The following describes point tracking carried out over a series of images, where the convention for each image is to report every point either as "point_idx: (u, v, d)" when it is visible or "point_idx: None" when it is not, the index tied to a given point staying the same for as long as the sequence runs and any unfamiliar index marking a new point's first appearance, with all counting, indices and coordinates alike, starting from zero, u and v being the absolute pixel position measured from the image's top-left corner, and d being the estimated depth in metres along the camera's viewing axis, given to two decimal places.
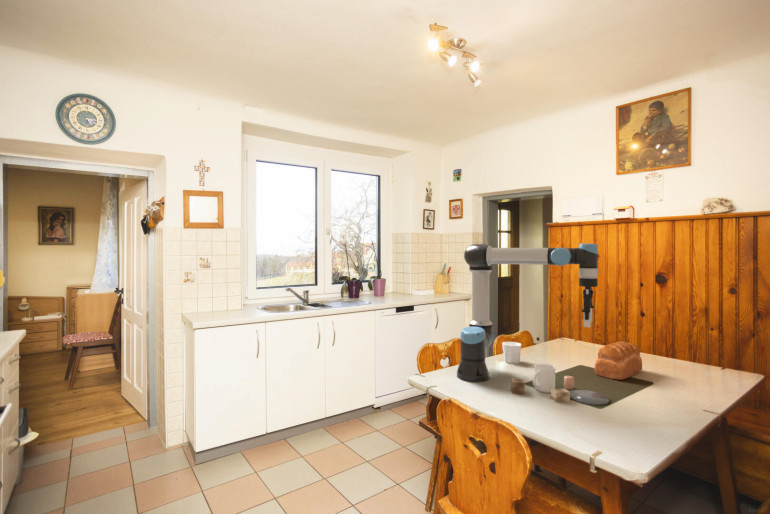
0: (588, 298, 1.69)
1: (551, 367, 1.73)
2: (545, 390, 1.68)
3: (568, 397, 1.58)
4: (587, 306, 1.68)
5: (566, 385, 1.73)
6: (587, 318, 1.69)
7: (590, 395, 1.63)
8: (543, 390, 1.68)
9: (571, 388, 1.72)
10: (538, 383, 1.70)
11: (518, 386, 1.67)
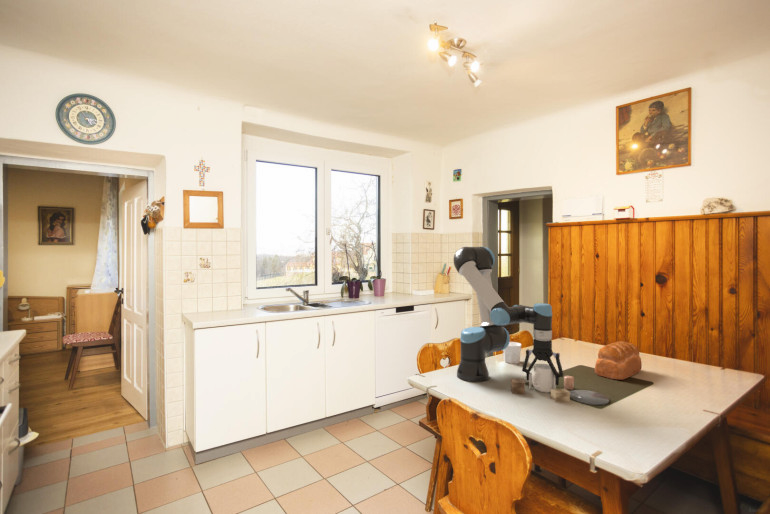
0: (525, 358, 1.74)
1: None
2: (544, 390, 1.68)
3: (568, 397, 1.58)
4: (523, 366, 1.74)
5: (566, 385, 1.73)
6: None
7: (590, 395, 1.63)
8: (542, 390, 1.68)
9: (571, 388, 1.72)
10: (537, 383, 1.70)
11: (518, 386, 1.67)
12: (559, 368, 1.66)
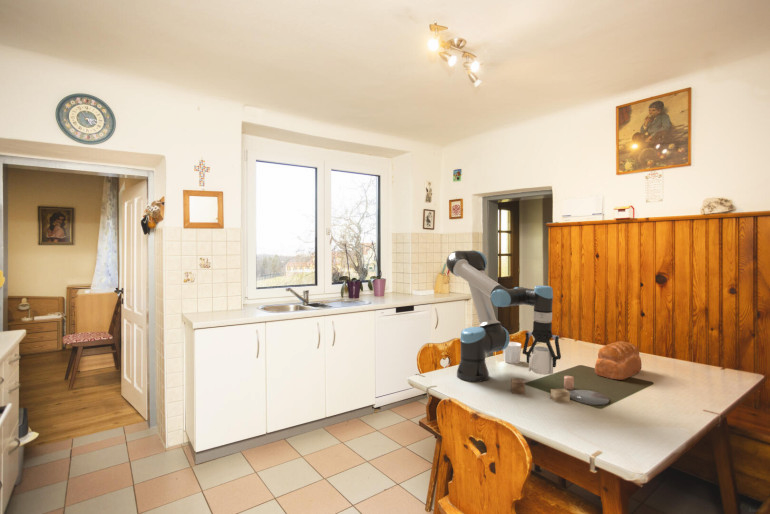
0: (525, 341, 1.74)
1: (548, 350, 1.74)
2: (541, 372, 1.69)
3: (568, 397, 1.58)
4: None
5: (566, 385, 1.73)
6: None
7: (590, 395, 1.63)
8: (539, 372, 1.69)
9: (571, 388, 1.72)
10: (535, 365, 1.71)
11: (518, 386, 1.67)
12: (557, 350, 1.67)
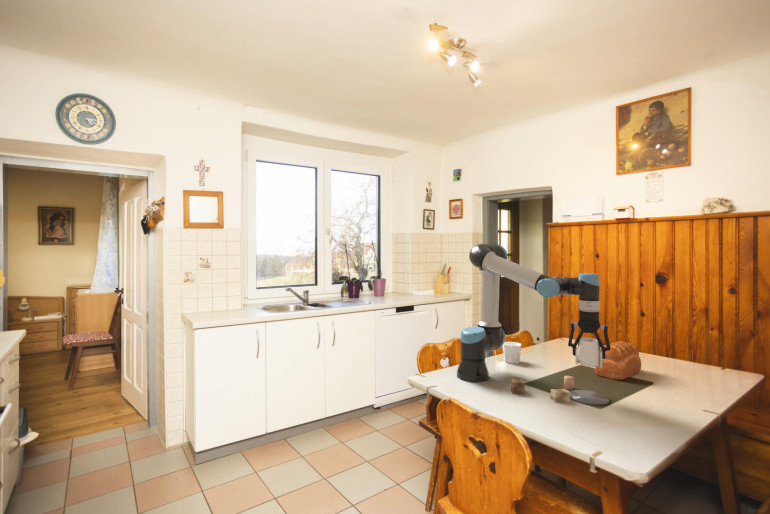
0: None
1: (595, 341, 1.64)
2: (590, 364, 1.59)
3: (568, 397, 1.58)
4: None
5: (566, 385, 1.73)
6: None
7: (590, 395, 1.63)
8: (588, 364, 1.59)
9: (571, 388, 1.72)
10: (582, 357, 1.61)
11: (518, 386, 1.67)
12: (607, 341, 1.57)
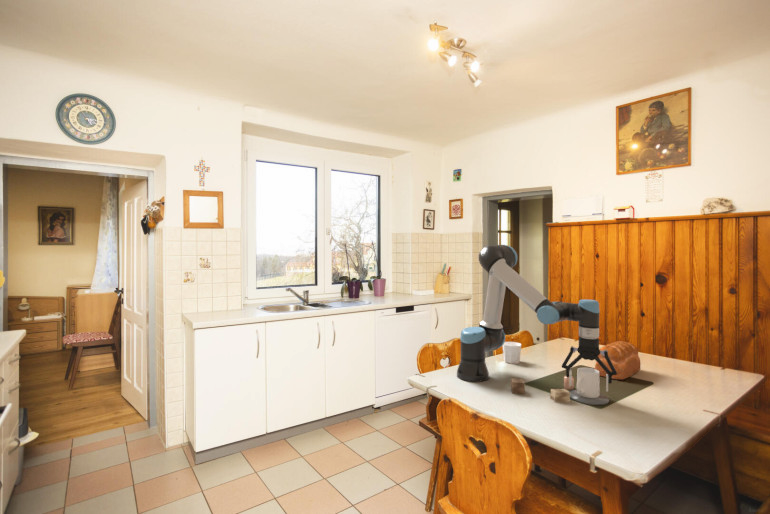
0: None
1: (594, 371, 1.65)
2: (590, 395, 1.59)
3: (568, 397, 1.58)
4: (563, 362, 1.66)
5: (566, 385, 1.73)
6: (566, 375, 1.66)
7: None
8: (588, 395, 1.60)
9: (571, 388, 1.72)
10: (582, 388, 1.61)
11: (518, 386, 1.67)
12: (611, 366, 1.57)
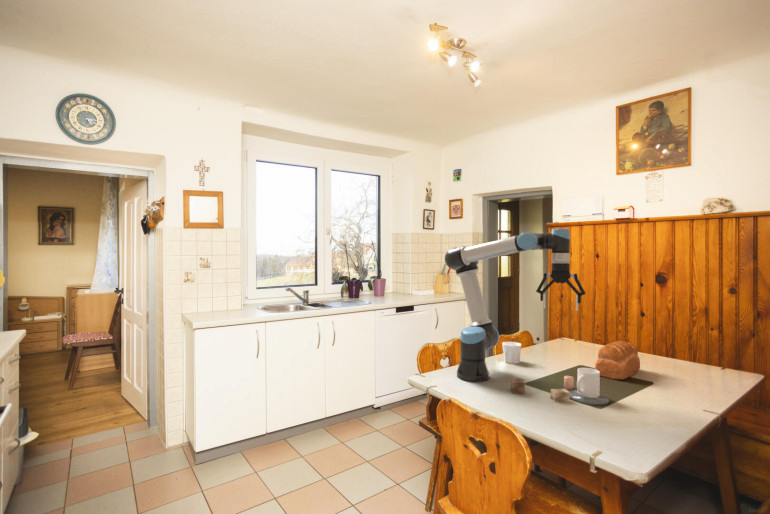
0: None
1: (594, 371, 1.65)
2: (590, 395, 1.59)
3: (568, 397, 1.58)
4: (538, 287, 1.81)
5: (566, 385, 1.73)
6: None
7: None
8: (588, 395, 1.60)
9: (571, 388, 1.72)
10: (582, 388, 1.61)
11: (518, 386, 1.67)
12: (580, 287, 1.72)
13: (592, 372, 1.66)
